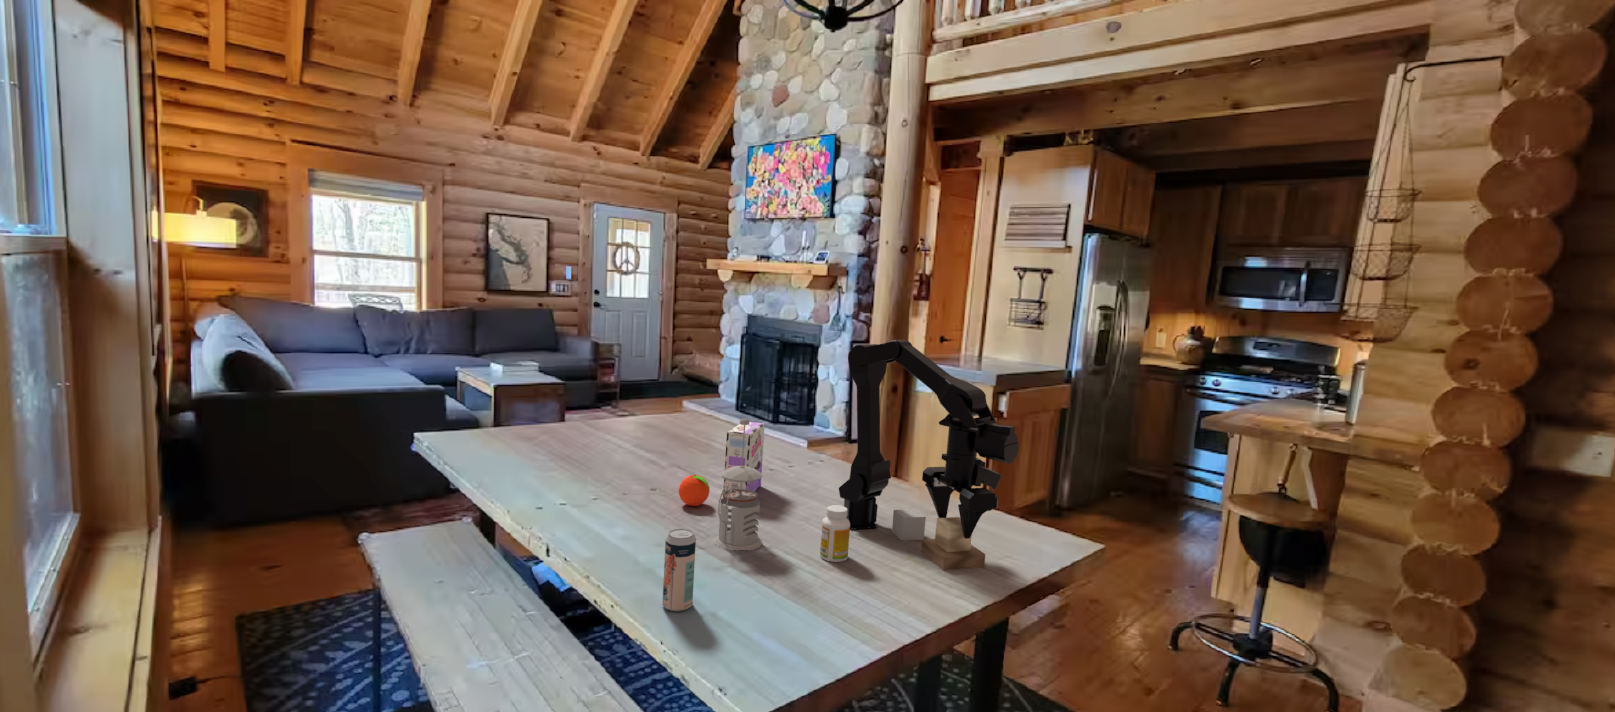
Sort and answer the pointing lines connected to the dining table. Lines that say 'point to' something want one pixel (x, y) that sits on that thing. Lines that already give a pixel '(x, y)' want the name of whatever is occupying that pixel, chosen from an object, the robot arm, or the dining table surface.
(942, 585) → the dining table surface
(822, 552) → the supplement bottle
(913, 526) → the grey cube
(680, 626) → the dining table surface
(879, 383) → the robot arm
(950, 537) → the maple cube
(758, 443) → the candy box
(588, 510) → the dining table surface
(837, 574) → the dining table surface
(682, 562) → the beer can
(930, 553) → the walnut block
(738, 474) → the french press
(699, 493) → the clementine
